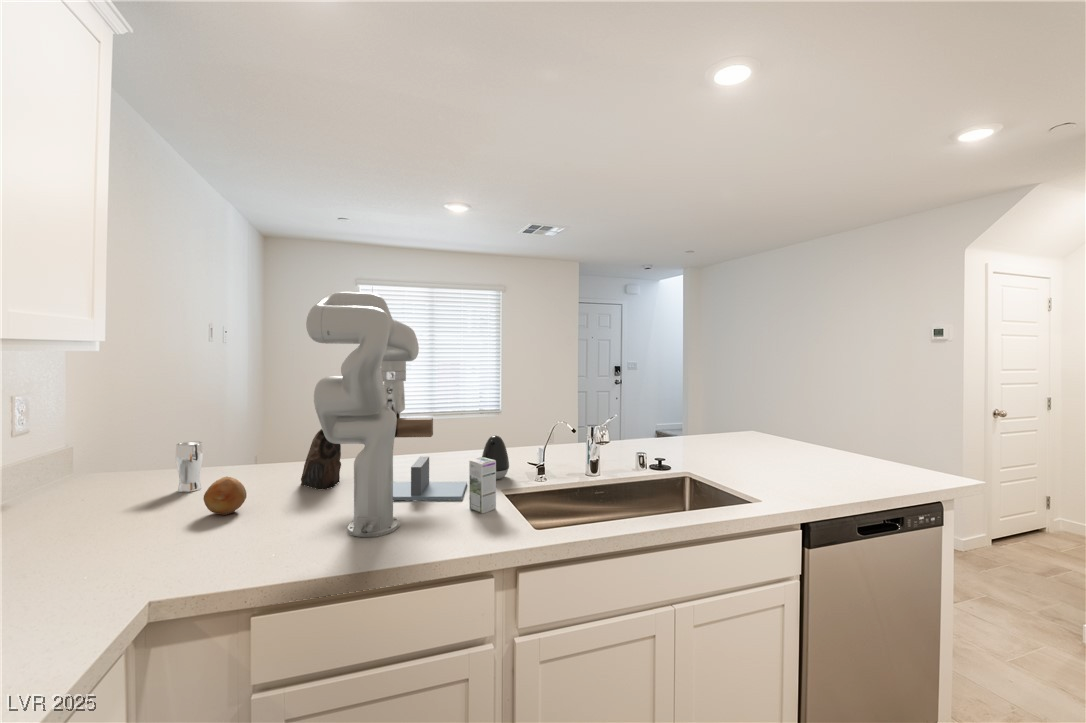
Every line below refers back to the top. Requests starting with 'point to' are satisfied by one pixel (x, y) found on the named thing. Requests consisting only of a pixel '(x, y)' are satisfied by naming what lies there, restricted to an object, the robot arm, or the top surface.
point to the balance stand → (426, 486)
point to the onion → (225, 496)
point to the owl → (322, 463)
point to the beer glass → (189, 465)
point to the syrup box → (482, 484)
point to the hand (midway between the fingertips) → (393, 434)
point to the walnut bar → (414, 427)
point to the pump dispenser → (497, 455)
